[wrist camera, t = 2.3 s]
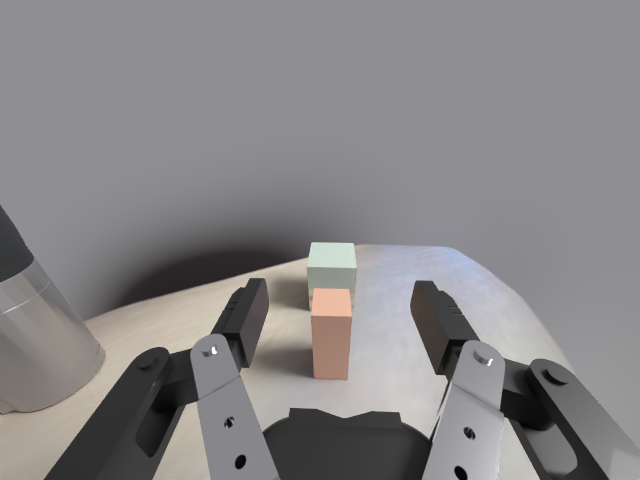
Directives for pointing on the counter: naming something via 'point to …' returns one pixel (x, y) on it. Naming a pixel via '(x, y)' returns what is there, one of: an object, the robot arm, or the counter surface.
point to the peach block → (331, 333)
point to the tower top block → (332, 266)
